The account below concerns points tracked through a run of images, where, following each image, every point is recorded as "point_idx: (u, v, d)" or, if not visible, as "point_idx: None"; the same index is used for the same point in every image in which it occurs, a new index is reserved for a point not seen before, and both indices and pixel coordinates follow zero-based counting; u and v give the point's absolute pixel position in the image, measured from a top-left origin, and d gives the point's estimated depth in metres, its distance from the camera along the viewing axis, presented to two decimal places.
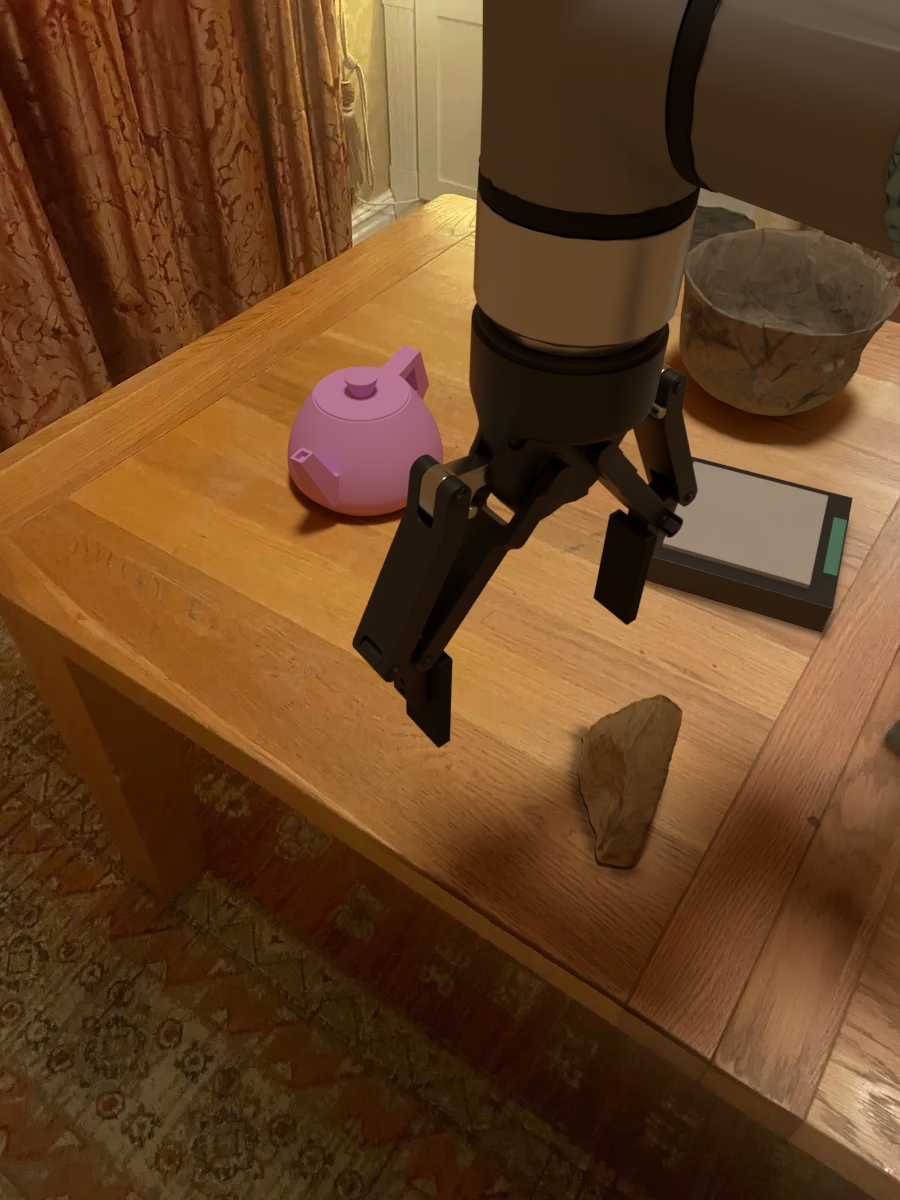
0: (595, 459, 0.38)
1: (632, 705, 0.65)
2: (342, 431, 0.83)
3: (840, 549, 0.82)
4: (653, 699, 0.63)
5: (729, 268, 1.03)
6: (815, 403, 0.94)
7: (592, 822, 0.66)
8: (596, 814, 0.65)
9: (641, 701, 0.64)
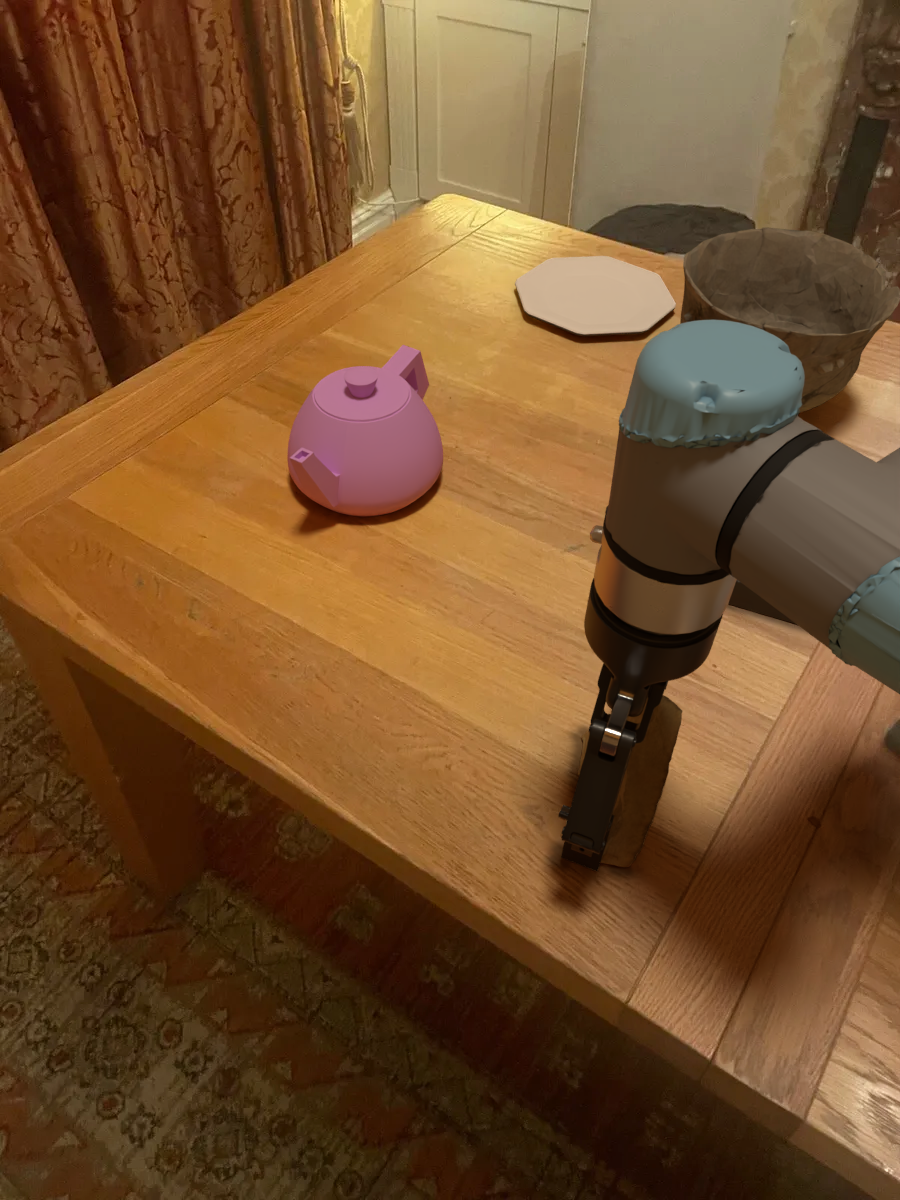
0: None
1: None
2: (342, 431, 0.83)
3: None
4: None
5: (729, 268, 1.03)
6: (815, 403, 0.94)
7: None
8: None
9: None
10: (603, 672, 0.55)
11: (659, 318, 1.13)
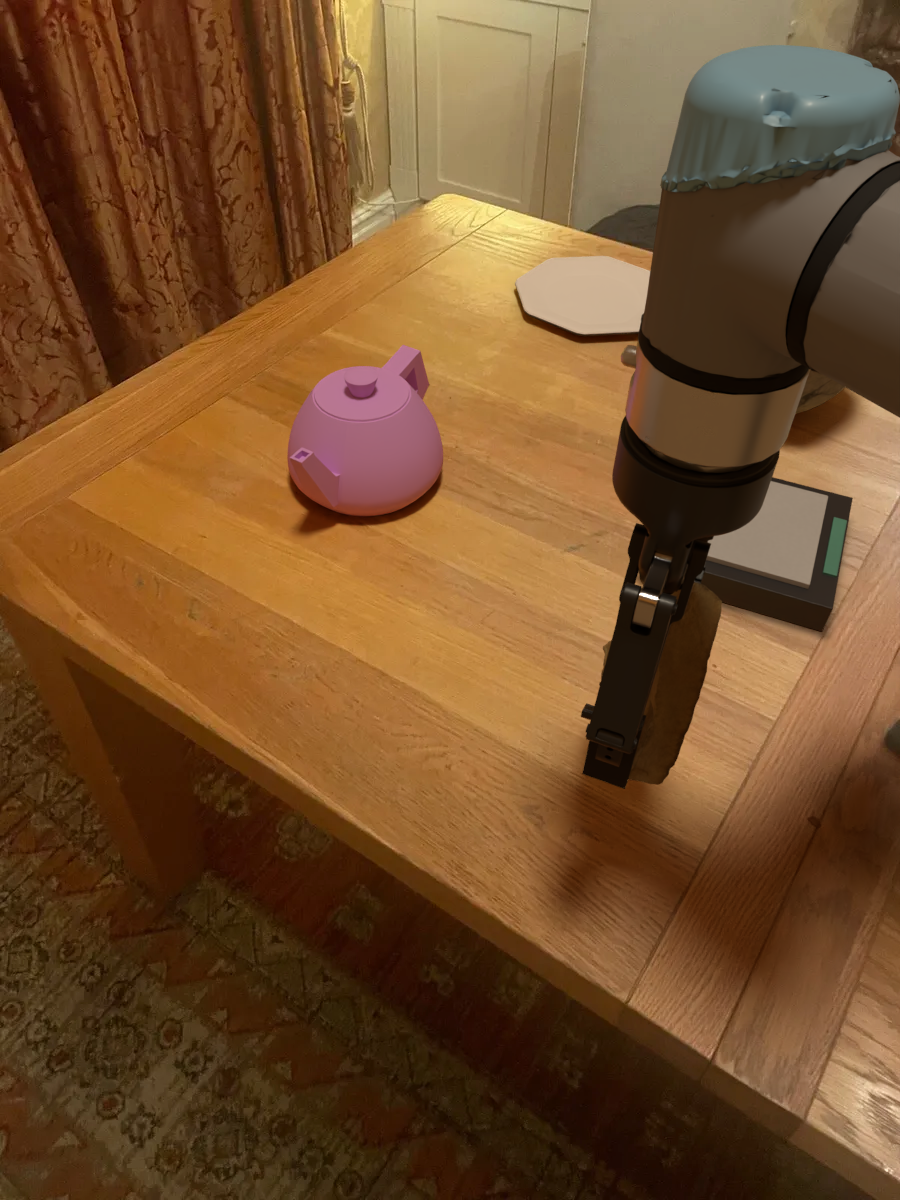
0: None
1: None
2: (342, 431, 0.83)
3: (840, 549, 0.82)
4: None
5: None
6: (815, 403, 0.94)
7: None
8: None
9: (673, 594, 0.56)
10: (634, 537, 0.47)
11: None
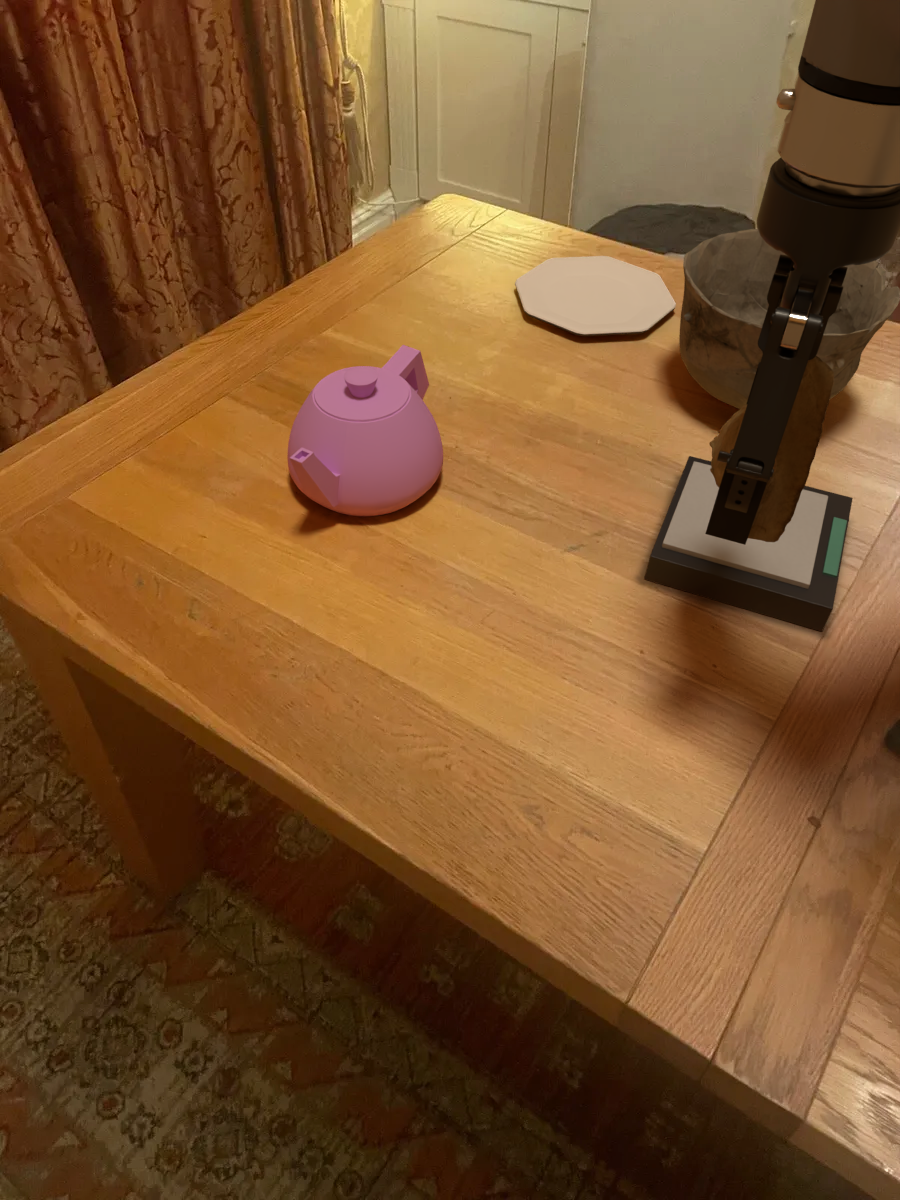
0: (840, 281, 0.53)
1: None
2: (342, 431, 0.83)
3: (840, 549, 0.82)
4: None
5: (729, 268, 1.03)
6: None
7: None
8: None
9: None
10: (773, 284, 0.52)
11: (659, 318, 1.13)
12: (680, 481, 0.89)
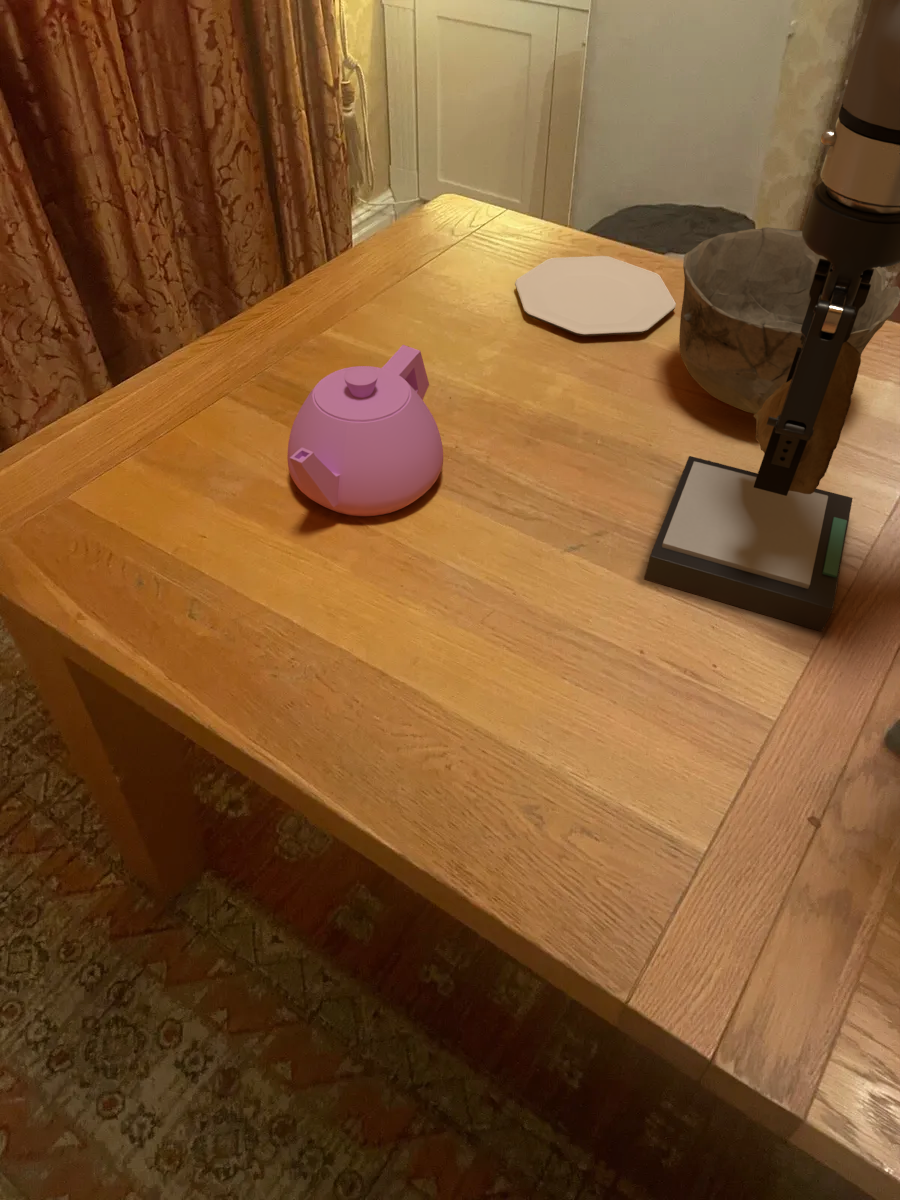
0: (868, 280, 0.67)
1: None
2: (342, 431, 0.83)
3: (840, 549, 0.82)
4: None
5: (729, 268, 1.03)
6: None
7: None
8: None
9: None
10: (815, 282, 0.66)
11: (659, 318, 1.13)
12: (680, 481, 0.89)
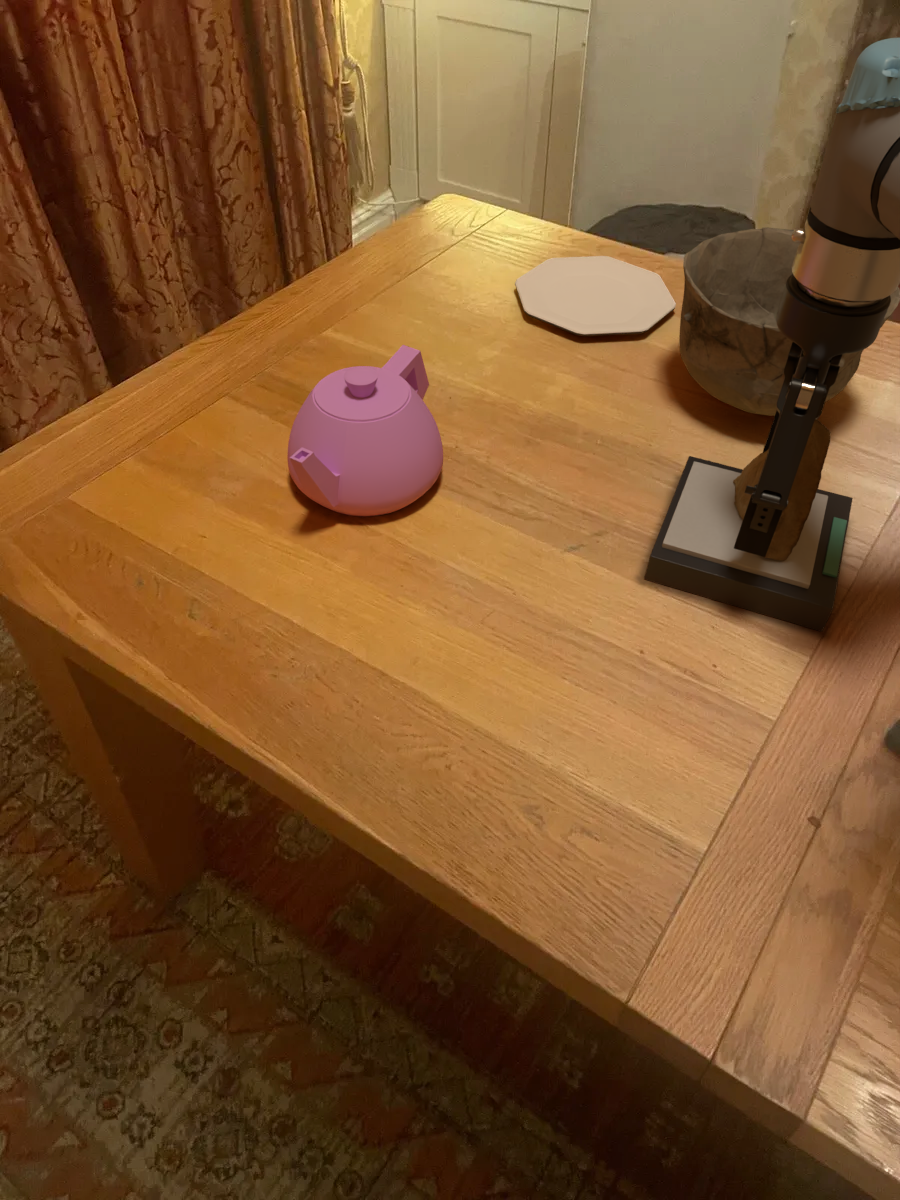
0: (838, 360, 0.71)
1: None
2: (342, 431, 0.83)
3: (840, 549, 0.82)
4: None
5: (729, 268, 1.03)
6: None
7: None
8: None
9: None
10: (788, 362, 0.71)
11: (659, 318, 1.13)
12: (680, 481, 0.89)
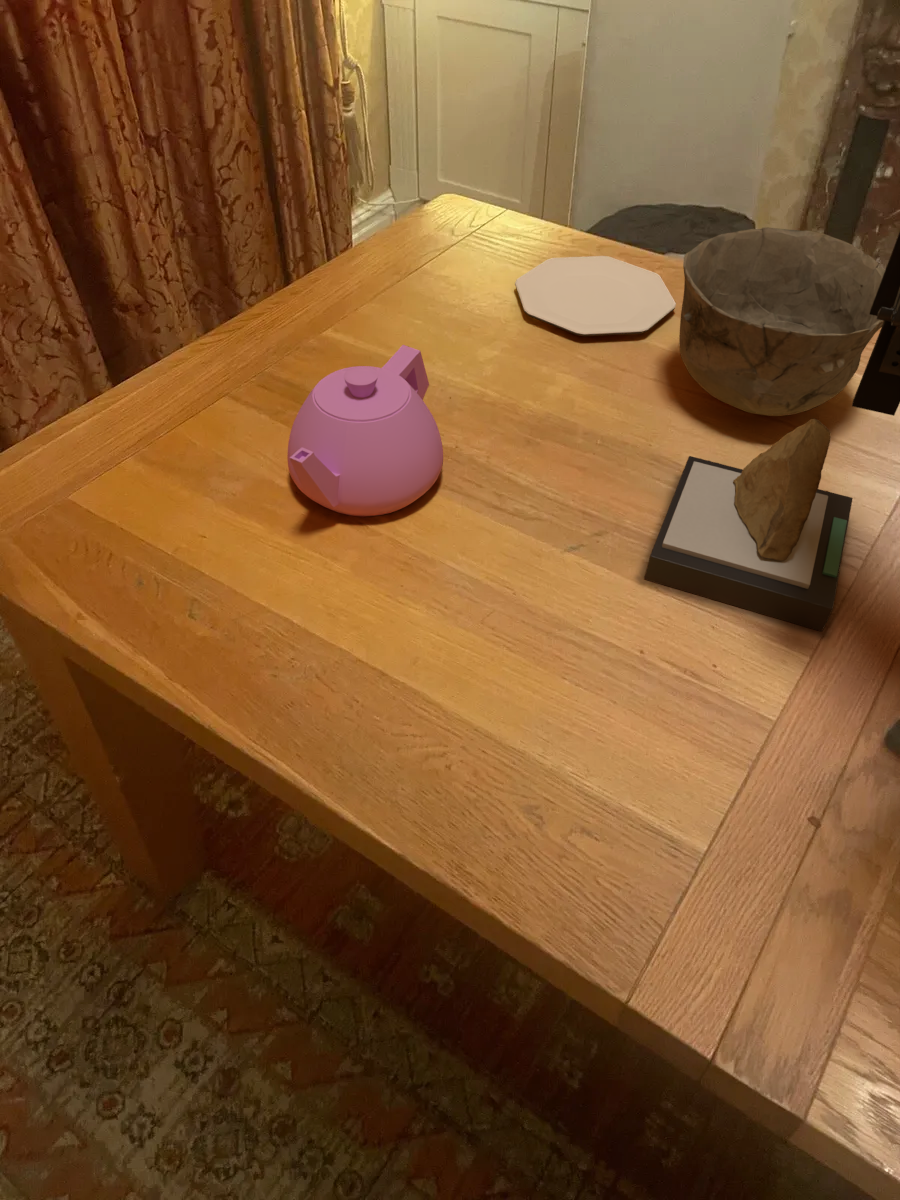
0: None
1: (786, 436, 0.81)
2: (342, 431, 0.83)
3: (840, 549, 0.82)
4: (806, 424, 0.79)
5: (729, 268, 1.03)
6: (815, 403, 0.94)
7: (752, 533, 0.82)
8: (756, 525, 0.82)
9: (794, 430, 0.80)
10: None
11: (659, 318, 1.13)
12: (680, 481, 0.89)
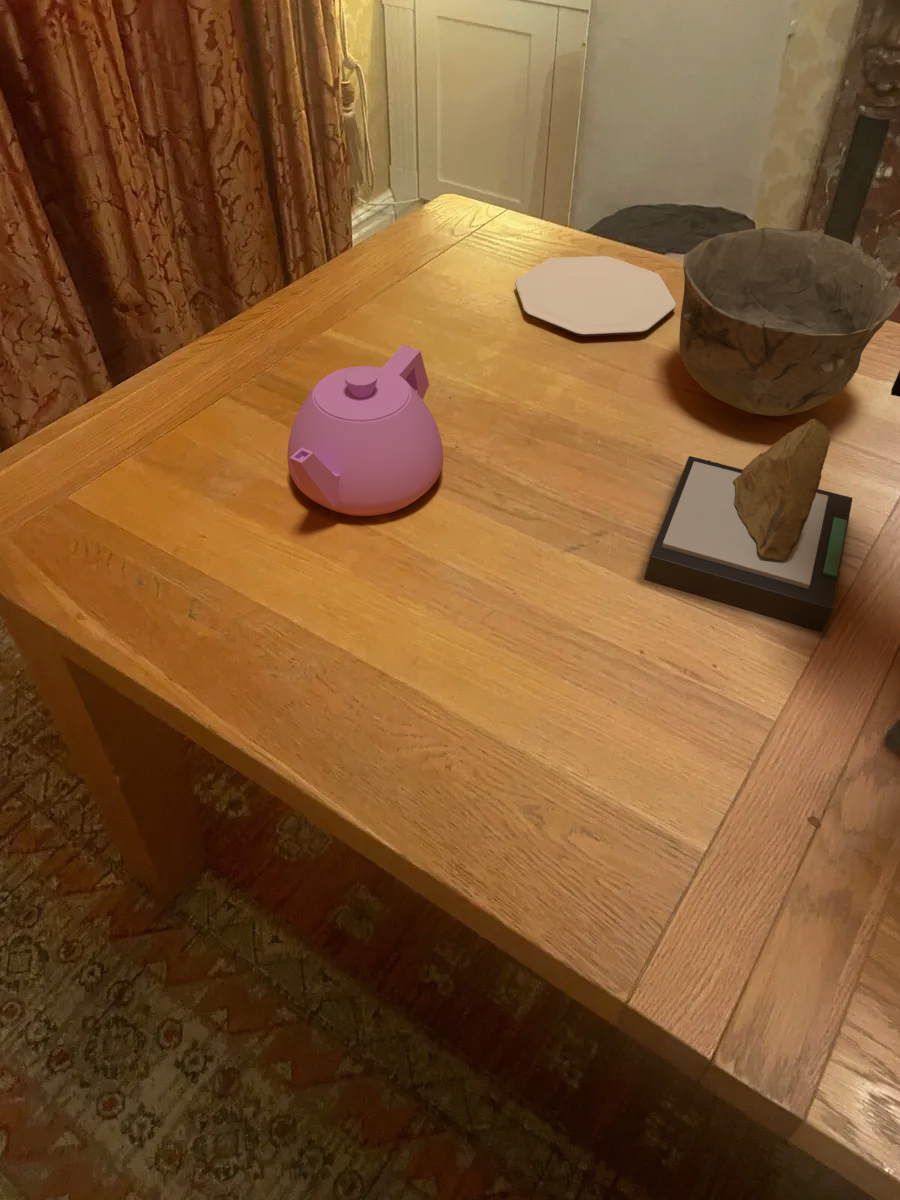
0: None
1: (786, 436, 0.81)
2: (342, 431, 0.83)
3: (840, 549, 0.82)
4: (806, 424, 0.79)
5: (729, 268, 1.03)
6: (815, 403, 0.94)
7: (752, 533, 0.82)
8: (756, 525, 0.82)
9: (794, 430, 0.80)
10: None
11: (659, 318, 1.13)
12: (680, 481, 0.89)
